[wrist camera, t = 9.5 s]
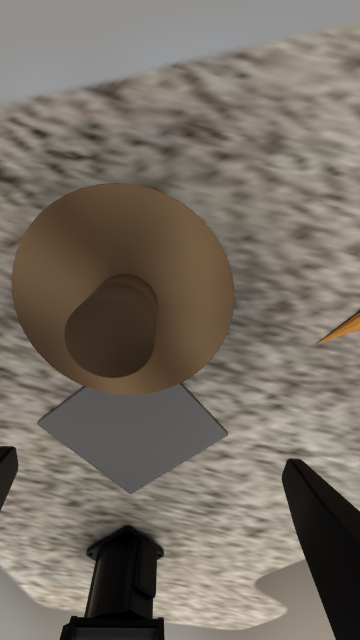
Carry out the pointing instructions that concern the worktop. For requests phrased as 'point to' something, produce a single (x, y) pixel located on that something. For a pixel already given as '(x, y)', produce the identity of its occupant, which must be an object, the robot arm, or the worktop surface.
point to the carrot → (345, 328)
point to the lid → (123, 289)
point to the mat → (133, 432)
